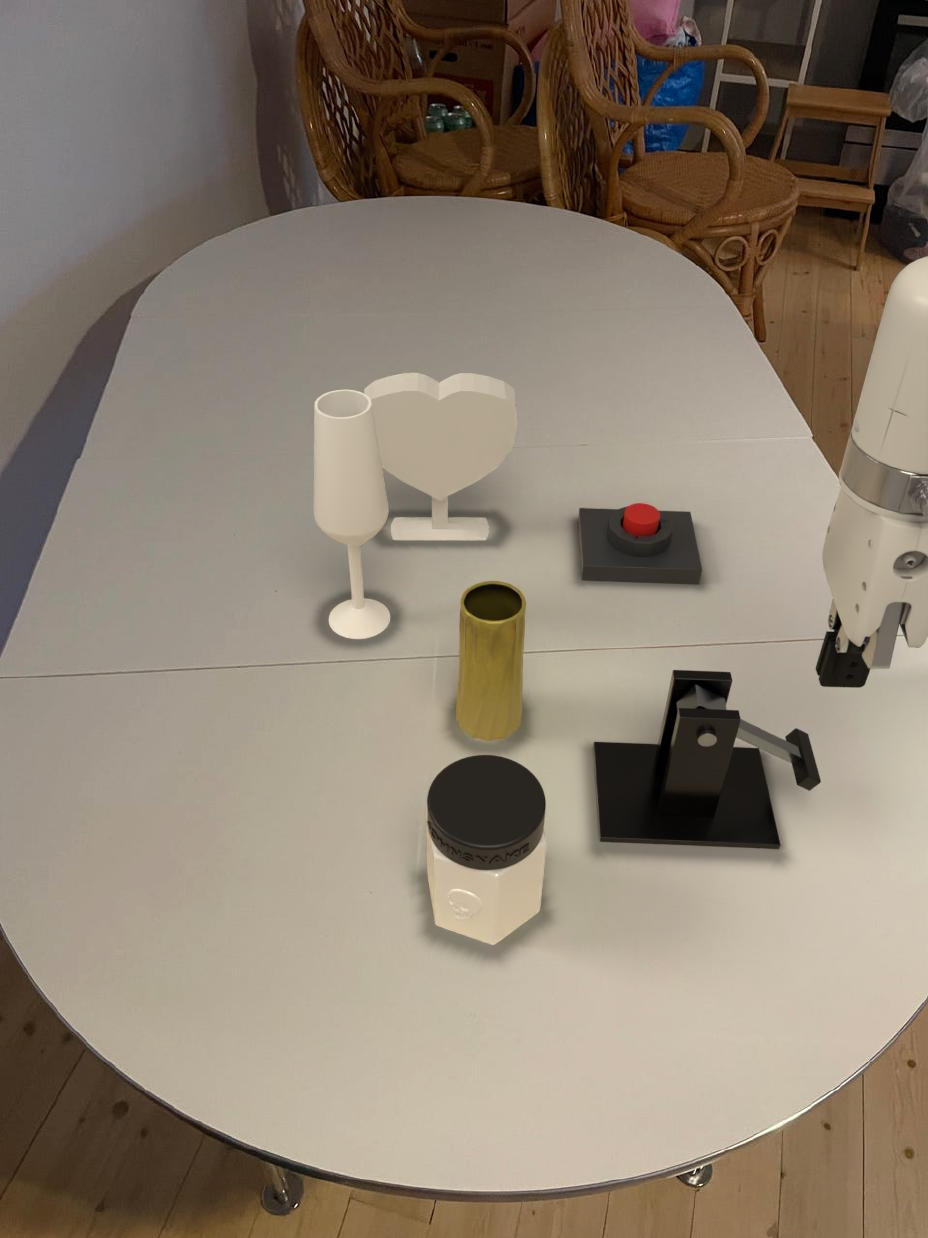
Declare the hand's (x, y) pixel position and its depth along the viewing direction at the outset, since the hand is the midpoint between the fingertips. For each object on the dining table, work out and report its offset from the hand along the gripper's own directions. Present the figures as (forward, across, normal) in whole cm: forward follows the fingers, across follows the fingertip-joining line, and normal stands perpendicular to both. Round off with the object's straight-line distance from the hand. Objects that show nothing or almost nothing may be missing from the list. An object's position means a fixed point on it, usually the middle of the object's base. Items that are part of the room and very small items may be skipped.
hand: (839, 679), depth 76 cm
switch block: (+15, +33, +11) cm, 38 cm away
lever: (+7, 0, +6) cm, 9 cm away
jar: (+14, -10, +26) cm, 31 cm away
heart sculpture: (+14, +36, +32) cm, 50 cm away
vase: (+14, +8, +26) cm, 30 cm away
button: (+11, +33, +11) cm, 36 cm away
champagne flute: (+14, +21, +39) cm, 46 cm away
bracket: (+15, 0, +10) cm, 17 cm away
